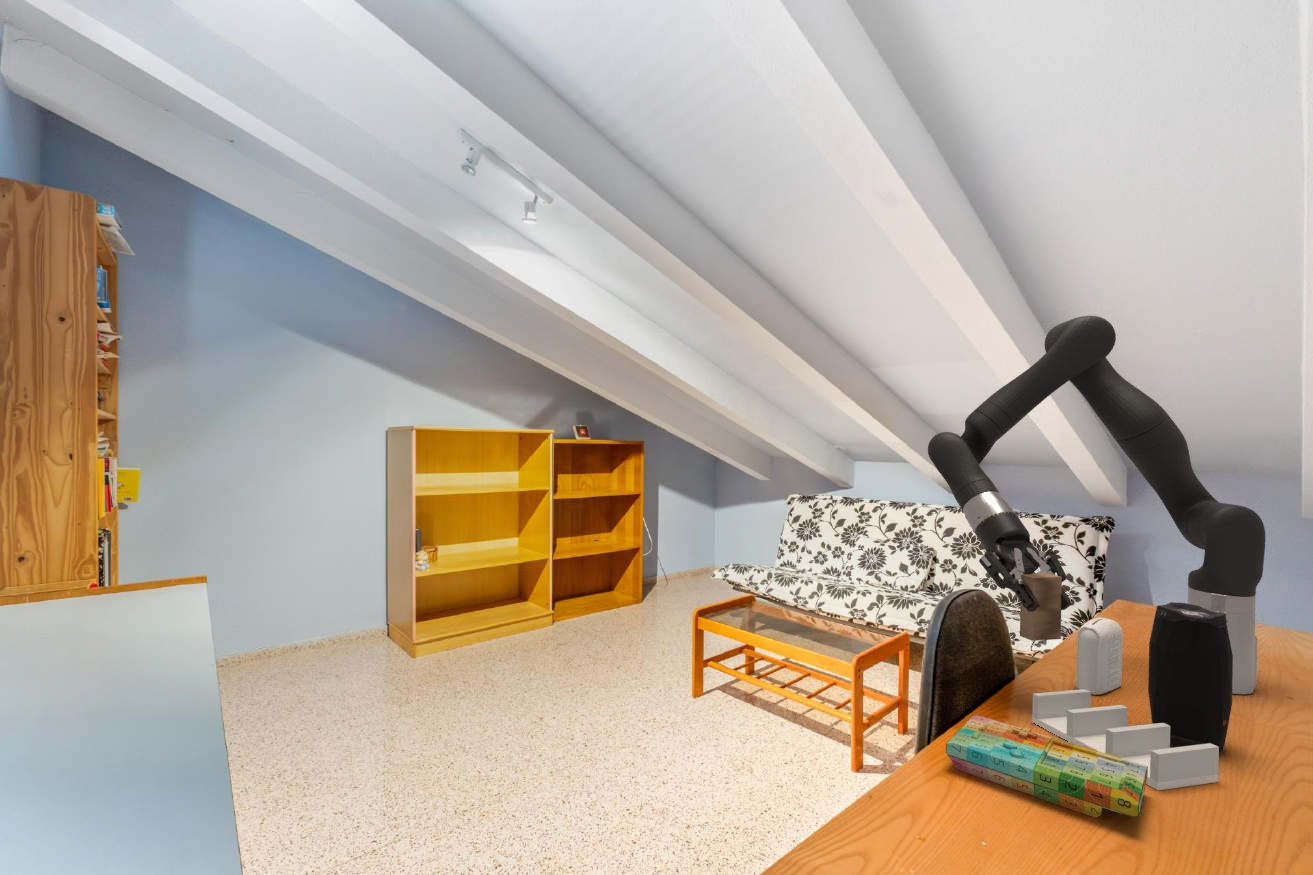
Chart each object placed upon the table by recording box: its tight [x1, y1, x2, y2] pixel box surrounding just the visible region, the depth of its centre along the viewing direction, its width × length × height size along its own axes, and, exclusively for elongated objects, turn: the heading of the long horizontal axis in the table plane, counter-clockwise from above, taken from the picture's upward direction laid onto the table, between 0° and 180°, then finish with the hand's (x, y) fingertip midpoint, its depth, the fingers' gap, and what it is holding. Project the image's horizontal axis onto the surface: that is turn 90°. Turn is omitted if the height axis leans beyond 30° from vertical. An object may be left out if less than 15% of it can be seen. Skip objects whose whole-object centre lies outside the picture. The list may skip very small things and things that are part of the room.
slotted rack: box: [1031, 689, 1220, 791], centre depth 88 cm, size 10×19×4 cm, turn 14°
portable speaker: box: [1147, 601, 1233, 751], centre depth 91 cm, size 9×9×20 cm
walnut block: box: [1019, 574, 1063, 642], centre depth 101 cm, size 6×2×10 cm, turn 103°
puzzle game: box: [945, 715, 1148, 819], centre depth 79 cm, size 12×5×20 cm
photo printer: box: [1075, 617, 1124, 696], centre depth 112 cm, size 10×4×12 cm, turn 123°
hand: (1050, 608), depth 100 cm, fingers closed on walnut block, 5 cm apart
